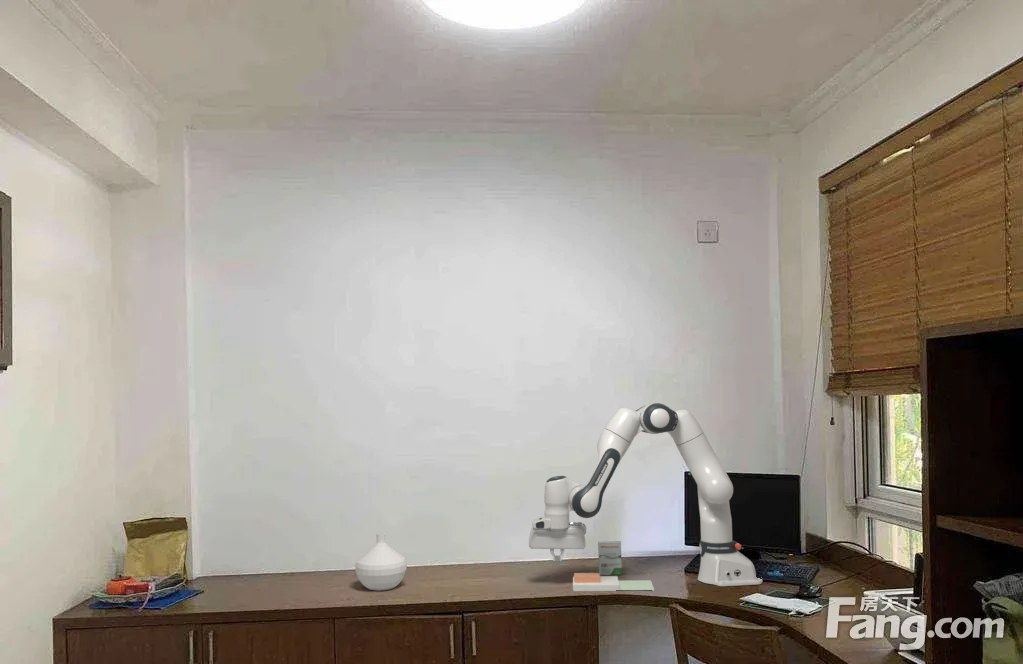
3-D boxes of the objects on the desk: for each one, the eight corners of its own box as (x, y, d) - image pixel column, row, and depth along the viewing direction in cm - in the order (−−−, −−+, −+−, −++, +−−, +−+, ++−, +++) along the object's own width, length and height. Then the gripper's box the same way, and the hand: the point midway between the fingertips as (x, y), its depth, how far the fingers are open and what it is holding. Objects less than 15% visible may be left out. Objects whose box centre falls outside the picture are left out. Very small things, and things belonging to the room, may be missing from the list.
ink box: (622, 571, 328) (621, 540, 328) (622, 575, 323) (621, 542, 323) (598, 571, 329) (598, 540, 329) (598, 575, 324) (598, 543, 324)
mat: (651, 581, 312) (650, 580, 312) (654, 590, 299) (654, 589, 299) (617, 581, 313) (617, 580, 313) (619, 590, 300) (619, 589, 300)
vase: (380, 578, 325) (380, 527, 326) (417, 584, 315) (416, 531, 316) (344, 589, 310) (344, 535, 311) (382, 596, 300) (381, 540, 301)
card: (599, 578, 310) (599, 572, 310) (600, 582, 304) (599, 576, 304) (574, 578, 311) (574, 573, 311) (574, 582, 305) (574, 577, 305)
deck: (617, 581, 313) (617, 576, 313) (619, 590, 300) (619, 585, 300) (573, 581, 314) (572, 576, 314) (573, 591, 301) (572, 585, 301)
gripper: (586, 520, 311) (586, 559, 311) (529, 520, 313) (529, 559, 312) (586, 523, 305) (586, 563, 305) (528, 523, 307) (528, 563, 306)
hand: (557, 561), depth 309 cm, fingers closed
